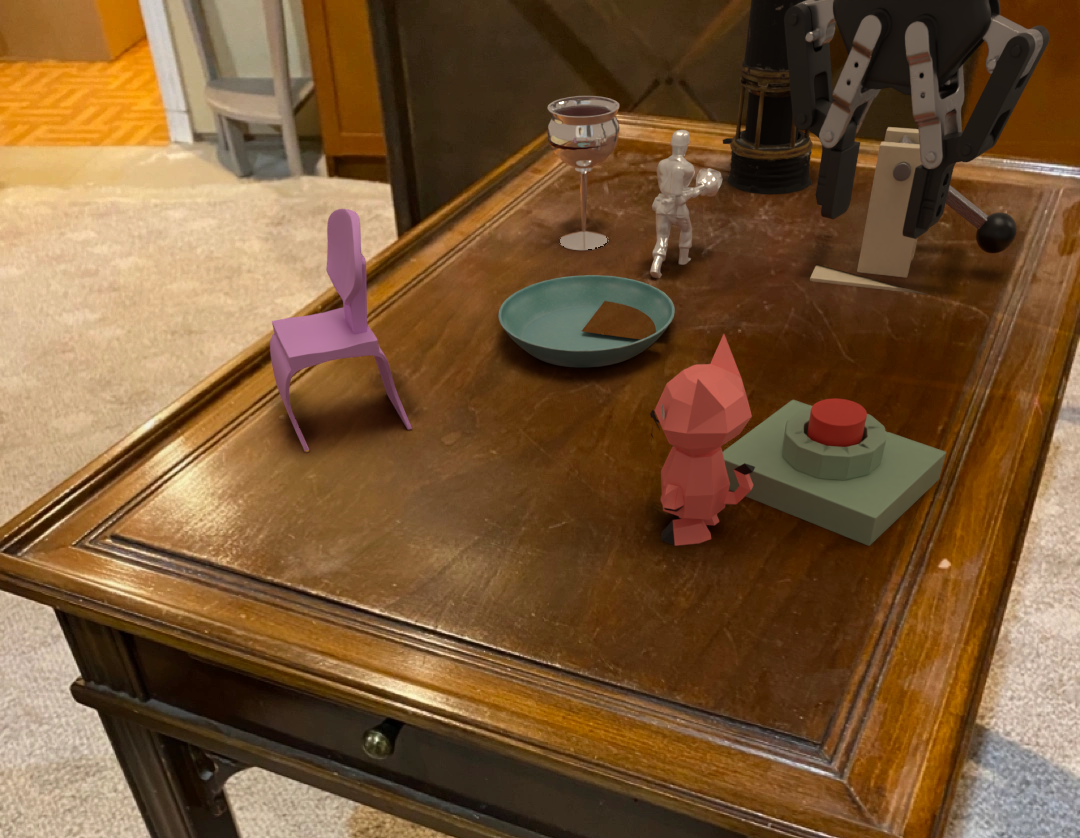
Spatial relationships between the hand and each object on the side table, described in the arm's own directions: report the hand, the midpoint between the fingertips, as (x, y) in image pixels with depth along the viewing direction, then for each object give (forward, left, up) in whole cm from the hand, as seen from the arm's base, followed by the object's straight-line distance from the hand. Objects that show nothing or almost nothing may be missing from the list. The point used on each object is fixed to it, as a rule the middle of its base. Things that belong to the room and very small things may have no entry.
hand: (874, 222), depth 61 cm
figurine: (+29, -23, -18) cm, 41 cm away
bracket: (+13, -33, -17) cm, 39 cm away
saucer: (+27, -7, -18) cm, 33 cm away
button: (0, 0, -14) cm, 14 cm away
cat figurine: (+4, +10, -18) cm, 21 cm away
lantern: (+34, -47, -18) cm, 61 cm away
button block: (0, 0, -17) cm, 17 cm away
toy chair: (+33, +15, -18) cm, 40 cm away
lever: (+10, -34, -11) cm, 37 cm away
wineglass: (+41, -24, -18) cm, 51 cm away
